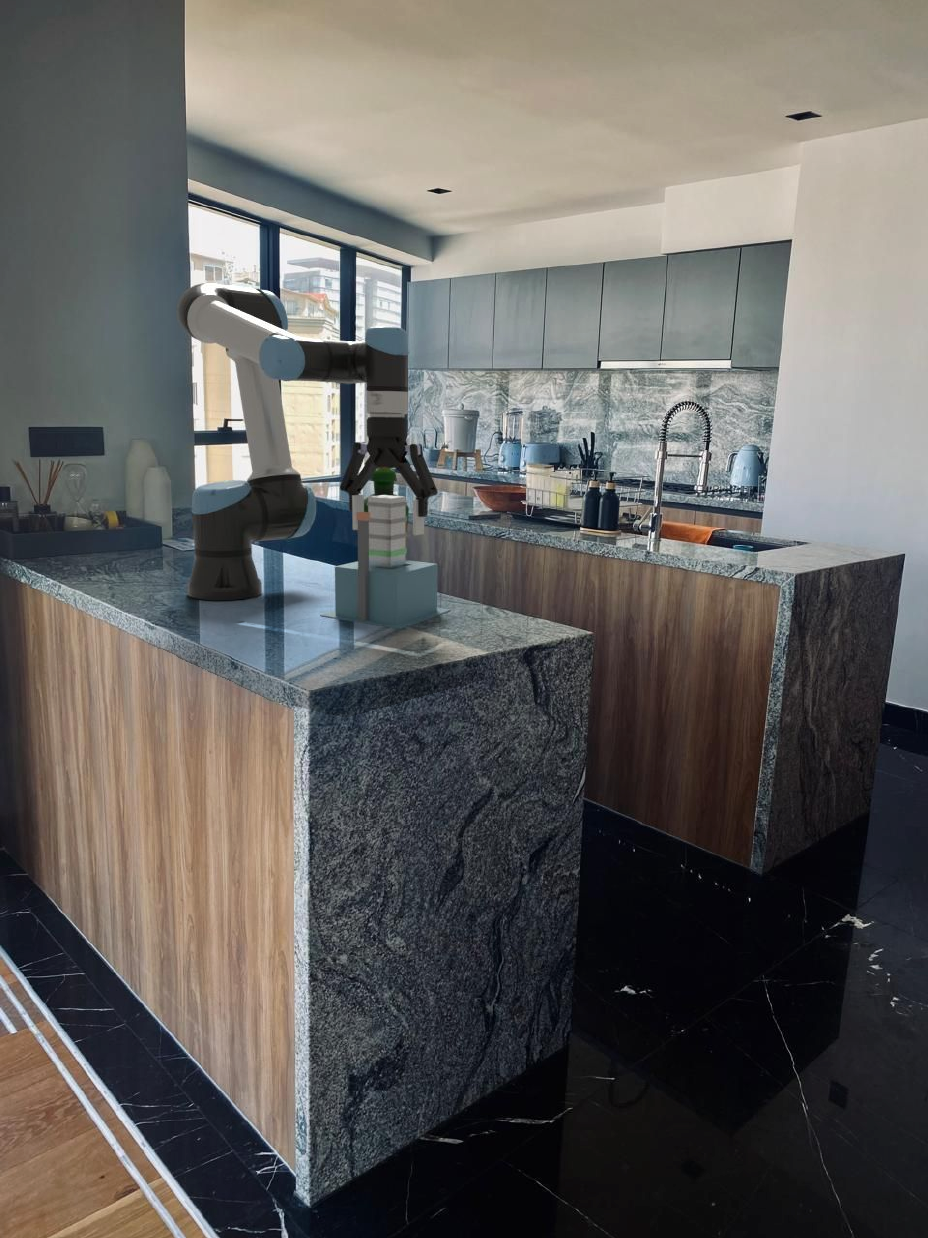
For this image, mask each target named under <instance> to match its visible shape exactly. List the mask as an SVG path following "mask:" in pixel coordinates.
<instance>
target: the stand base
mask: <svg viewBox="0 0 928 1238" xmlns="http://www.w3.org/2000/svg"><path fill="white" fill-rule="evenodd" d="M356 520H358V530H357V561H354V562H349V563H344V564H340V565H336V566H334V594H335V595H334V597H335V598H334V601H335V603H334V604H335V608H334V610H333V611H329V612H326V613H324V614H320V617H324V618H331V619H337V620H341V621H346V622H347V621H349V622H352V623H353V622H355V623H361V624H367V625H373V626H379V627H385V628H391V629H398V630H402V629H404V628H407V627H410V626H412V625H415V624H416V625H417V624H418V623H421V622H423V621H426V620H429V619H432V618H436V617H437V616H440V615H443V614H445V613H448V612H451V611H452V610H451V609H449V608H441V607H438V572H439V571H438V568H439V567H438V563H434V562H425V561H416V560H407V559H406V560H405V567H401V568H397V569H393V570H390V569H382V568H374V567H369V520H370V512H356Z"/></svg>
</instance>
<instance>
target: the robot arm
mask: <svg viewBox="0 0 928 1238" xmlns="http://www.w3.org/2000/svg"><path fill="white" fill-rule="evenodd" d="M176 310H177V311H176V315H177V320H178V322H179V325H180V326H181V328H182V330H183V331H184V332H185V333H186V334H187V335H189V336H190V337H192V338H193V339H194V340H196V341H199V342H201V343H203V344H209V345H210V344H217V345H219V346H222V347H223V348H225V353H226V356H227V357H228V358H229V359H231V360H232V361H233V362H234V365H235V372H236V376H237V382H238V389H239V396H240V402H241V408H242V413H243V414H242V415H243V416H242V417H243V421H244V428H245V432H246V433H245V434H246V441H247V446H248V453H249V459H250V465H251V474H250V475H249V477H248V478H247V479H246V480H239V479H237V480H234V479H233V480H224V481H215V482H209V483H205V484H202V485H200V486H198V487H196V488H195V489H194V491H193V493H192V494H191V495H192V501H191V509H190V510H191V513H192V526H193V528H192V529H193V545H194V547H193V548H194V561H193V565H192V569H191V574H190V579H189V580H188V583H187V595H188V597H189V598H193V599H197V600H203V601H204V600H205V601H236V600H242V599H243V600H244V599H250V598H253V597H254V598H255V597H257V596H260V595H261V594H262V593H263V592H262V591H263V588H262V581H261V579H260V578H259V575H258V572H257V568H256V564H255V562H254V559H253V550H252V549H253V548H252V547H253V545H252V543H254V542H255V543H256V542H263V541H273V540H274V541H275V540H288V539H292V538H299V537H303V536H304V535H306V534H308V532H309V531H310V530H311V528H312V526H313V524H314V522H315V520H316V516H317V515H316V514H317V499H316V496H315V493H314V491H313V490H312V489H311V486H309V485H307V484H305V483H302V477H301V473H299V472H298V471H297V470H296V469H295V468H294V467H293V465H292V458H291V452H290V451H291V450H290V446H289V439H288V433H287V427H286V419H285V413H284V407H283V401H282V394H281V389H280V382H279V381H282V382H293V381H295V382H320V383H335V384H339V385H352V384H366V387H365V389H366V390H365V391H366V413H367V414H368V415H369V417H368V416H367V418H366V436H367V438H368V442H367V443H366V442H365V441H356V442H354V443H353V447H352V455H351V457H350V460H349V463H348V465H347V468H346V470H345V473H344V475H343V478H342V481H341V483H340V485H339V490H341V491H342V492H343V491H344V492H345V493H347V494H348V498H349V499H348V502H349V503H348V505H349V506H348V507H349V511H350V512H351V513H352V515H351V516H352V531H358V520H356V512H364V499H365V497H364V496H365V495H364V494H362V490H363V489H364V487H365V486H366V485H367V483H369V480H371V477H372V475H373V473H374V472H375V470H376V469H377V468H379V467H387V468H391V469H395V471H398V472H399V473H400V475H401V476H402V478H403V479H404V481H405V483H406V484H407V485H408V486H409V488H410V490H411V491H412V493H413V494H414V495H415V498H414V499H412V535H413V536H420V535H424V534H425V517H427V516H428V515H429V514H428V513H429V511H428V509H429V508H428V505H429V504H428V503H429V498H431V497H435V496H437V495H438V489H437V486H436V485H435V482H434V479H433V477H432V474H431V472H430V469H429V466H428V464H427V462H426V460H425V457H424V450H423V445H422V444H421V443H411V444H409V445H408V441H407V438H408V436H409V425H408V424H409V419H408V418H407V417H405V415H407V414H408V413H409V405H408V404H409V393H408V391H409V390H408V389H409V388H408V387H409V384H408V382H409V381H408V380H409V371H408V369H409V353H410V352H409V351H410V350H409V347H408V344H409V343H408V334H407V332H406V330H405V329H404V328H401V327H398V326H371V327H368V328H367V329H366V330H365V336H364V340H363V341H362V340H361V341H360V340H358V341H348V340H347V341H345V340H335V339H322V338H310V337H304V336H303V337H302V336H298V335H296V334H293V333H290V332H289V331H288V330H289V320H288V319H289V318H288V314H287V311H286V307H285V306H284V304H283V302H282V301H281V299H280V297H278V296H277V295H276V294H275V293H274V292H271V291H269V290H265V289H261V288H258V287H253V286H252V287H244V286H238V285H230V284H229V285H228V284H220V283H219V284H218V283H215V282H214V283H213V282H203V283H199V284H195V285H193V286H191V287H190V288H187V290H185V291H184V293H182V295H181V296H180V298H179V301H178V302H177V308H176ZM367 453H368V455H369V457H368V458H367V459H366V460H365V462H364V459H365V457H366V455H367ZM407 454H408V455H409V457H410V460H411V463H412V465H413V467H414V470H415V471H414V470H413V468H412V467H411V463H410V461H409V460H408V458H407V457H406V456H407ZM363 462H364V466H363V467H362V465H363ZM361 467H362V469H361ZM360 469H361V470H360Z"/></svg>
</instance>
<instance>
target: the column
mask: <svg viewBox="0 0 928 1238" xmlns="http://www.w3.org/2000/svg"><path fill="white" fill-rule="evenodd" d="M367 497H368V496H367ZM406 499H407V496H401V495H398V496H391V495H379V496H371V497H368V502H367V506H368V512H370V520H369V567H374V568H382V569H390V570H393V569H397V568H401V567H405V554H406V555H407V553H408V552H407V551H408V548H407V547H406V548H405V537H407V538H408V532H407V533H405V525H406V521H407V518H406V506H408V501H406Z"/></svg>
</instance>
